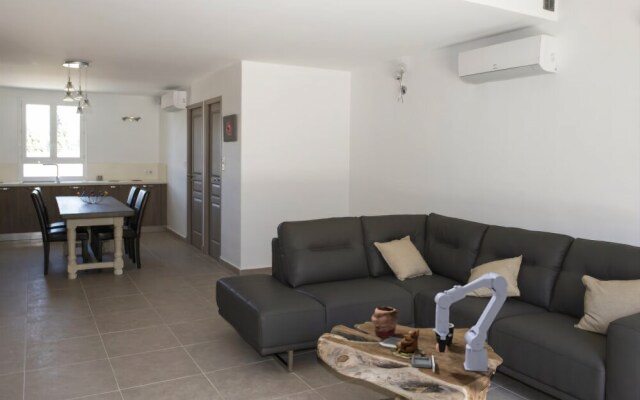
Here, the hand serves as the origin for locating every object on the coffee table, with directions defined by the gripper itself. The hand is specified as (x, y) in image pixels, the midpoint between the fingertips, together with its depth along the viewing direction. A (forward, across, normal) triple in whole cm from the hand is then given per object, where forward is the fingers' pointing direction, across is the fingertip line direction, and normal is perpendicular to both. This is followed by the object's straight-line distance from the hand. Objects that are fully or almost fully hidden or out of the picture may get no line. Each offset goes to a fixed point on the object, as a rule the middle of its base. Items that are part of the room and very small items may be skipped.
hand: (441, 350), depth 242 cm
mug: (+9, -32, +4) cm, 33 cm away
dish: (+8, -4, -8) cm, 13 cm away
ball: (+1, 0, 0) cm, 1 cm away
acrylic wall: (+8, -1, -3) cm, 9 cm away
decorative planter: (+9, -42, -26) cm, 50 cm away
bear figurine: (+9, -16, -14) cm, 23 cm away
